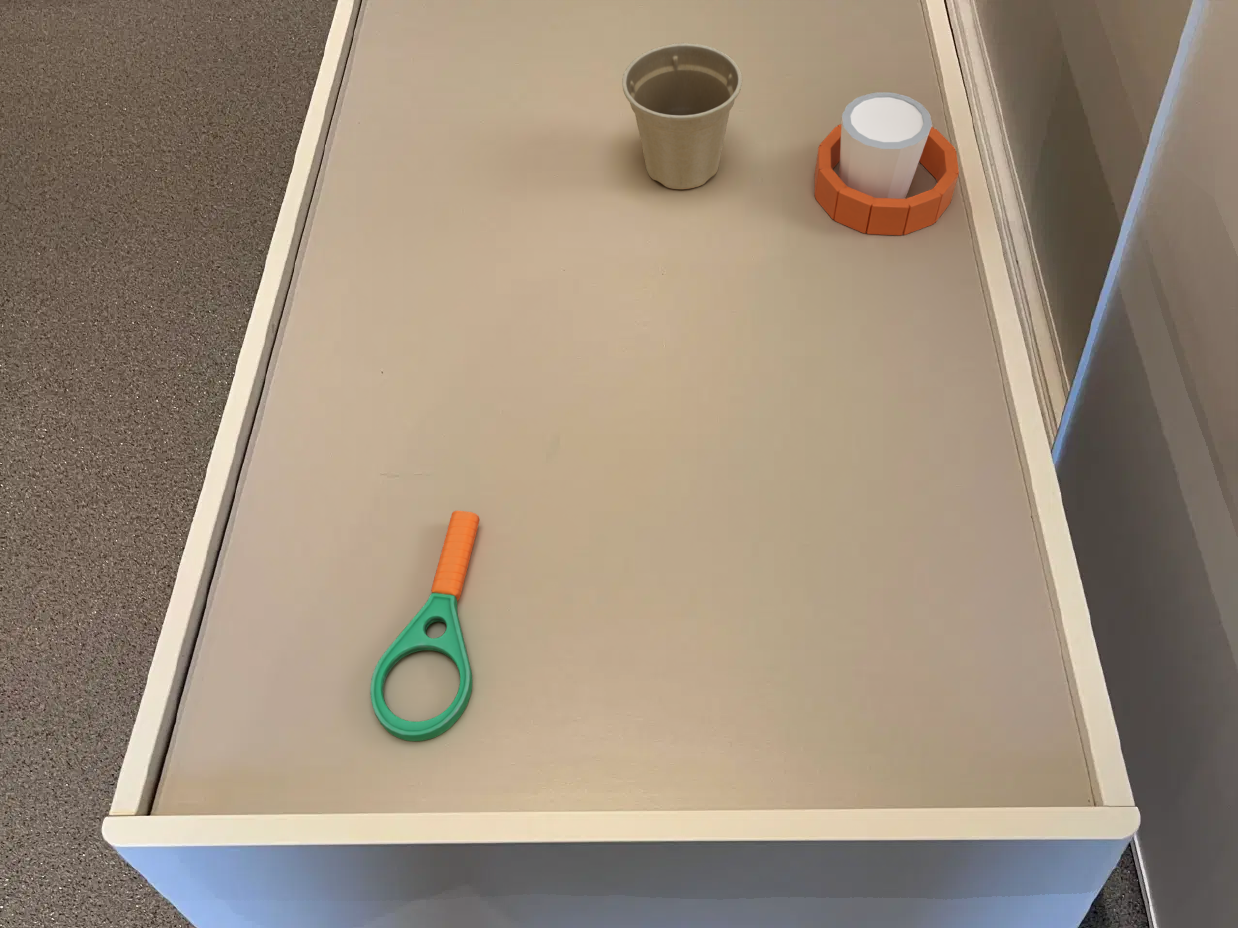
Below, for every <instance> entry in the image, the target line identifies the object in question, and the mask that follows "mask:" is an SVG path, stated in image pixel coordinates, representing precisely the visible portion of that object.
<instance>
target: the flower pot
mask: <svg viewBox="0 0 1238 928" xmlns="http://www.w3.org/2000/svg"><path fill="white" fill-rule="evenodd" d="M621 80H622V81H621V85H622V91H623V93H624V96H625V98H626V100H627V101H628V102H629V105H630V107H631V110H632V112H633V113H634V116H635V120H636V125H637V129H638V135H639V139H640V143H641V148H642V152H643V153H642V154H643V158H644V164H645V169H646V172H647V174H648V176H649V177H650V179H652V180H653V181H657V182H658V183H660V184H661V185H663V186H664V187H665V188H669V189H673V190H689V189H694V188H698V187H700V186H703V185H705V183H706V182H708V181H709V180H710V179H711V178H712V177H714V176H715V175H716V174H717V173H718V171H719V167H720V161H721V157H722V156H721V155H722V151H723V146H724V140H725V135H726V132H727V126H728V122H729V118H730V117H729V116H730V111H731V110H732V108H733V106H734V104H735V100H736V99H737V97H738V96H739V94H740V93H741V90H742V86H743V74H742V72H741V69H740V67H739V65H738V64H737V62H736V61H735V60H734V59H733V58H732V57H731V56H729V55H728V54H726V53H725V52H723V51H721V50H719V49H718V48H714V47H712V46H709V45H706V44H705V45H704V44H700V43H693V42H692V43H691V42H681V43H680V42H678V43H677V42H675V43H669V44H665V45H661V46H657V47H655V48H651V49H649V50H647V51H645V52H643V53H641V54H640V55H638V56H636V58H634V59H633V60H632V61H631V62H630V63H629V64H628V65H627V67H626V68H625V71H624V72H623V74H622V79H621Z"/></svg>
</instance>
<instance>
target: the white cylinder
mask: <svg viewBox="0 0 1238 928" xmlns="http://www.w3.org/2000/svg"><path fill="white" fill-rule="evenodd" d="M841 124H842V125H841V147H840V161H839V171H838V172H839V174H838V176H839V178H840V179H841V180H842V181H843V182H844V183H845V185H846V186H848V187H850V188H852V189H855V190H857V191H860V192H862V193H865V194H867V195H869V196H872V197H874V198H896V199H907V196H908V193H909V191H910V188H911V186H912V182H913V180H914V177H915V174H916V171H917V169H918V166H919V163H920V162H919V160H920V157H921V154H922V152H923V149H924V146H925V143H926V140H927V138H928V135H929V132H930V129H931V127H933V123H932V118H931V114H930V112H929V111H928V109H926V107H925V106H924V105H923V104H922V102H919V101H917V100H916V99H913V98H912V97H910V96H908V95H904V94H900V93H896V92H892V91H887V92H883V91H882V92H879V91H878V92H871V93H867V94H863V95H860V96H857V97H856V98H854V99H853V100H852V101H850V102H849V103H848V104H846V107H845V108H844V110H843V112H842V114H841Z"/></svg>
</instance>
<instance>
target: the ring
mask: <svg viewBox="0 0 1238 928" xmlns="http://www.w3.org/2000/svg"><path fill="white" fill-rule="evenodd" d="M841 125H842V123H840V124H837V126H835V127H834V128H833V129H832V130H831V131H830V132H829V133H828V135H826V137H825V138H824V139H823V140H822V141H821V142H820V143H819V145H818V148H817V154H816V161H815V168H814V197H815V201H817V203H818V204H819V205H820V206H821V207H822V209H823V210H824V211H825V212H826V213H827V214H828V216H829V217H830V218H831V219H832V220H834V222H836V223H839V224H841V225H844V226H846V227H849V228H851V229H853V230H854V231H857V232H860V233H862V234H867V235H881V236H905V235H908V234H911V233H914V232H917V231H919V230H923V229H924V228H927V227H929V226H932V225H934V224H935V223H937V222H938V220H939V219H940V217H942V215H943V214H944V212H945V211H946V210H947V208H948V207H949V206H950V204H951V203H952V199H953V196H954V192H955V189H956V185H957V181H958V178H959V175H960V171H959V161H958V153H957V150H956V147H955V146H954V145H953V144H952V143H951V142H950V141H949V140H948V139H947V138H946V137H945V136H944V135H943V134H942V132H940V131H939V130H938V128H935V127H934V126H931V129H930V132H929V135H928V138H927V140H926V143H925V146H924V149H923V152H922V154H921V157H920V160H919V163H920V164H921V165H922V166H923V167H924V168H925V169H926V170H927V172H928V173H930V174H931V176H932V177H933V178H934V179H935V180H936V184H935V185H934V187H933V188H931V189H929V190H926V191H923V192H921V193H917V194H915V195H912V196H910V197H906V198H905V199H896V198H874V197H872V196H869V195H867V194H865V193H862V192H860V191H857V190H855V189H852V188H850V187H848V186H846V185H845V183H844V182H843V181H842V180H841V179H840V178H839V174H837V173H836V172H835V170H833V169H834V168H835V167H836V166H837V165H838V164H839V163H840V147H841Z"/></svg>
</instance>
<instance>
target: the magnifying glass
mask: <svg viewBox="0 0 1238 928" xmlns="http://www.w3.org/2000/svg"><path fill="white" fill-rule="evenodd" d="M480 519H481V518H480V516H479V514H477V513H475V512H473V511H466V510H453V511H452V513H451V516H450V518H449V522H448V525H447V530H446V534H445V537H444V541H443V545H442V549H441V553H440V556H439V560H438V563H437V568H436V571H435V575H434V578H433V581H432V585H431V589H430V595H429V597H428V599H427V600H426V602H425V603H424V605H423V606H421V608H420V609H419V611H418V612H417V613H416V614H415V616H414V617H413V618H412V619H411V620H410V622H409V623H408V624H406V626H405V628H404V629H402V631H401V632H400V633H399V634H398V636H397V637H396V638H395V639H394V640H393V642H391V644H390V645H389V646H388V647H387V648H386V650H385V651H384V652H383V654H382V655H381V657H380V658H379V660H378V661H377V663H376V665H375V666H374V669H373V672H372V676H371V678H370V679H371V680H370V687H369V691H370V692H369V694H370V701H371V706H372V709H373V712H374V714H375V717H376V718H377V720H378V722H379V724H380V725H381V726H382V727H383V728H384V729H385V730H386V731H387V732H388V733H389V734H390V735H391V736H393V737H396V738H398V739H400V740H403V741H407V742H425V741H428V740H431V739H434V738H437V737H439V736H440V735H442V734H444V733H445V732H447V731H449V729H451V728H452V727H453V726H454V725H455V724H456V722H457V721H458V720H459V719H460V718H461V716H463V714H464V712H465V710H466V709H467V706H468V704H469V702H470V698H471V695H472V691H473V690H472V689H473V672H472V667H471V663H470V660H469V655H468V651H467V647H466V643H465V638H464V634H463V630H462V626H461V622H460V618H459V615H458V613H459V612H458V602H459V600H460V598H461V595H462V591H463V587H464V585H465V584H464V583H465V579H466V576H467V572H468V568H469V564H470V560H471V555H472V552H473V548H474V544H475V540H476V537H477V533H478V528H479V524H480ZM436 622H437V623H438V622H441V623H444V624H445V627H446V628H445V631H444V633H443V634H442V635H441V636H438V637H429V636H428V634H427V630H428V628H429V626H431V624H434V623H436ZM421 651H435V652H438V653H441V654H443V655H445V656H447V658H449V659H450V660H451V661H452V662H453V663H454V665H456V667H457V670H458V673H459V674H458V675H459V685H458V690H457V694H456V695H455V697H454V699H453V700H452V702H451V703H450V705H449V706H448V707H447V708H446V709H445V710H444V711H442V712H441V713H440V714H438V715H437V716H434V717H432V718H429V719H425V720H420V721H415V720H414V721H413V720H407V719H404V718H402V717H399V716H397V715H396V714H394V712H392V711H391V709H390V707H388V706H387V704H386V701H385V695H384V690H385V689H384V687H385V683H386V680H387V677H388V675H389V673H390V672H391V671H392V669H393V667H395V665H396V664H397V663H398V662H399V661H400V660H401V659H403V658H405V657H407V656H408V655H410V654H413V653H416V652H421Z"/></svg>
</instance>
